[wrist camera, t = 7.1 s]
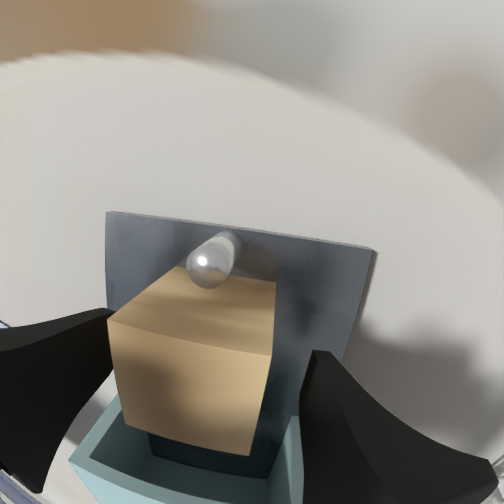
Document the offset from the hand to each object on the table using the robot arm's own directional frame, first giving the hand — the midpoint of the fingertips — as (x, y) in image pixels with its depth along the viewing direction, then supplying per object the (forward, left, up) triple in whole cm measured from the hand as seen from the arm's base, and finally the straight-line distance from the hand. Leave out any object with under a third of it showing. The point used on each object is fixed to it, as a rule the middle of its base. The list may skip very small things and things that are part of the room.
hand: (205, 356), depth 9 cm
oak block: (0, 0, -2) cm, 2 cm away
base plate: (-4, 0, -3) cm, 5 cm away
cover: (-8, 0, -2) cm, 9 cm away
